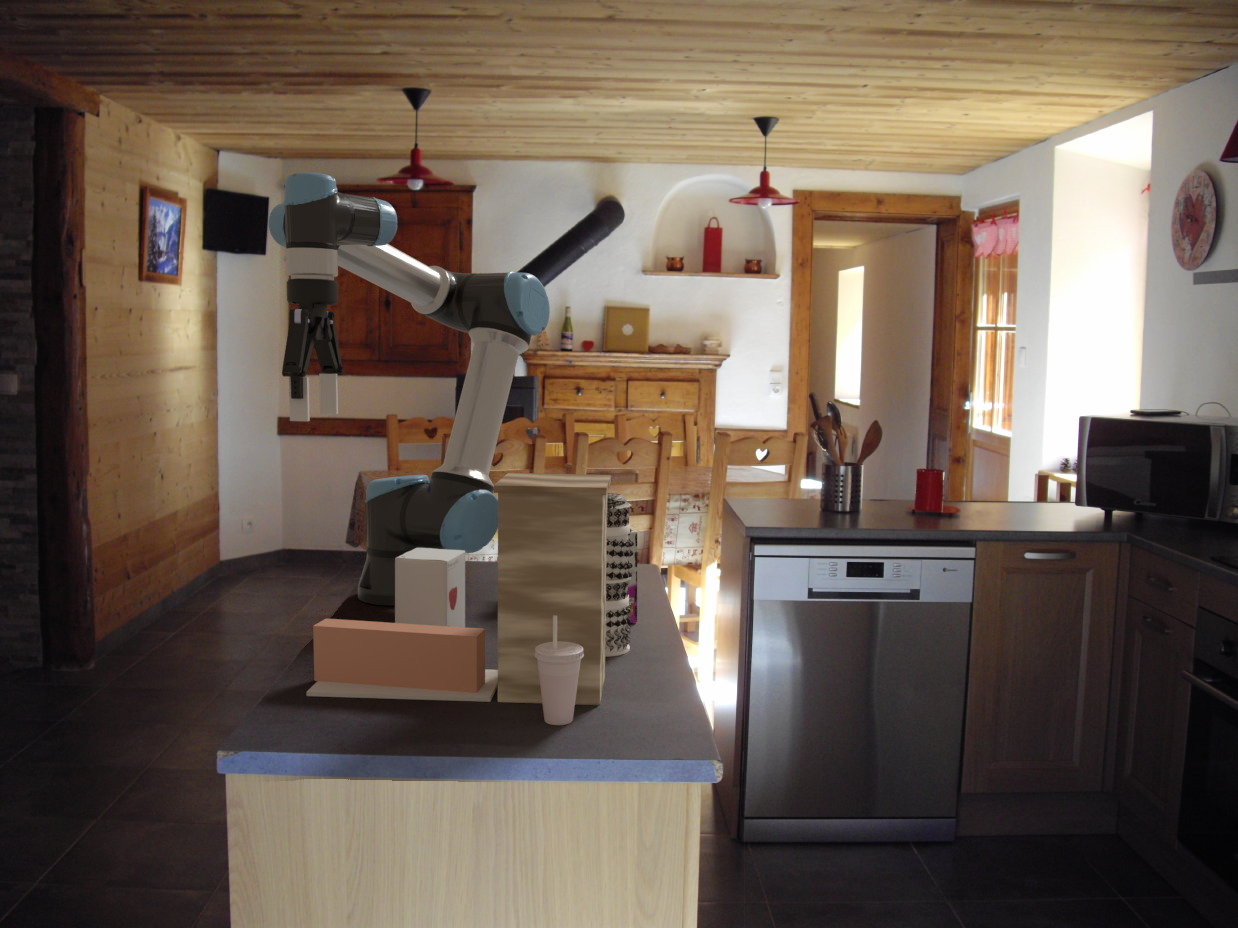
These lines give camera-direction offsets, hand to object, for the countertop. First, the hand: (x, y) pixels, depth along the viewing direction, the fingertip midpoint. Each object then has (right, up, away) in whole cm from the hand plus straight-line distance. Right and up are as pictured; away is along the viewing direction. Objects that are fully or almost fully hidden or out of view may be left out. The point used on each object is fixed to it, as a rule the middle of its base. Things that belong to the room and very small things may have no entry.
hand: (315, 417), depth 162 cm
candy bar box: (+44, -35, +21) cm, 60 cm away
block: (+16, -38, -13) cm, 43 cm away
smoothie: (+39, -41, -25) cm, 62 cm away
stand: (+38, -39, -13) cm, 56 cm away
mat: (+17, -39, -12) cm, 44 cm away
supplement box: (+17, -37, +8) cm, 41 cm away
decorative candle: (+45, -37, +7) cm, 58 cm away
